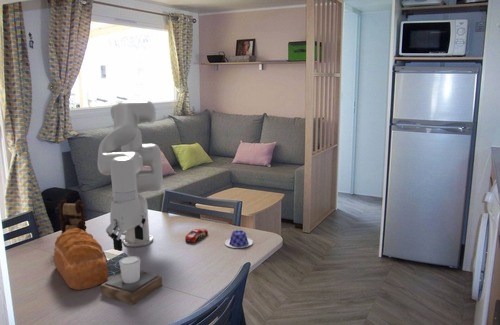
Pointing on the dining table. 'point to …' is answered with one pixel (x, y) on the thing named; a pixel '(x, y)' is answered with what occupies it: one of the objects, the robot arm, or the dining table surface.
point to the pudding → (238, 239)
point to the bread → (80, 259)
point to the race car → (196, 235)
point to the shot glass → (130, 269)
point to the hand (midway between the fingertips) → (129, 244)
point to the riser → (131, 287)
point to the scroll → (72, 216)
